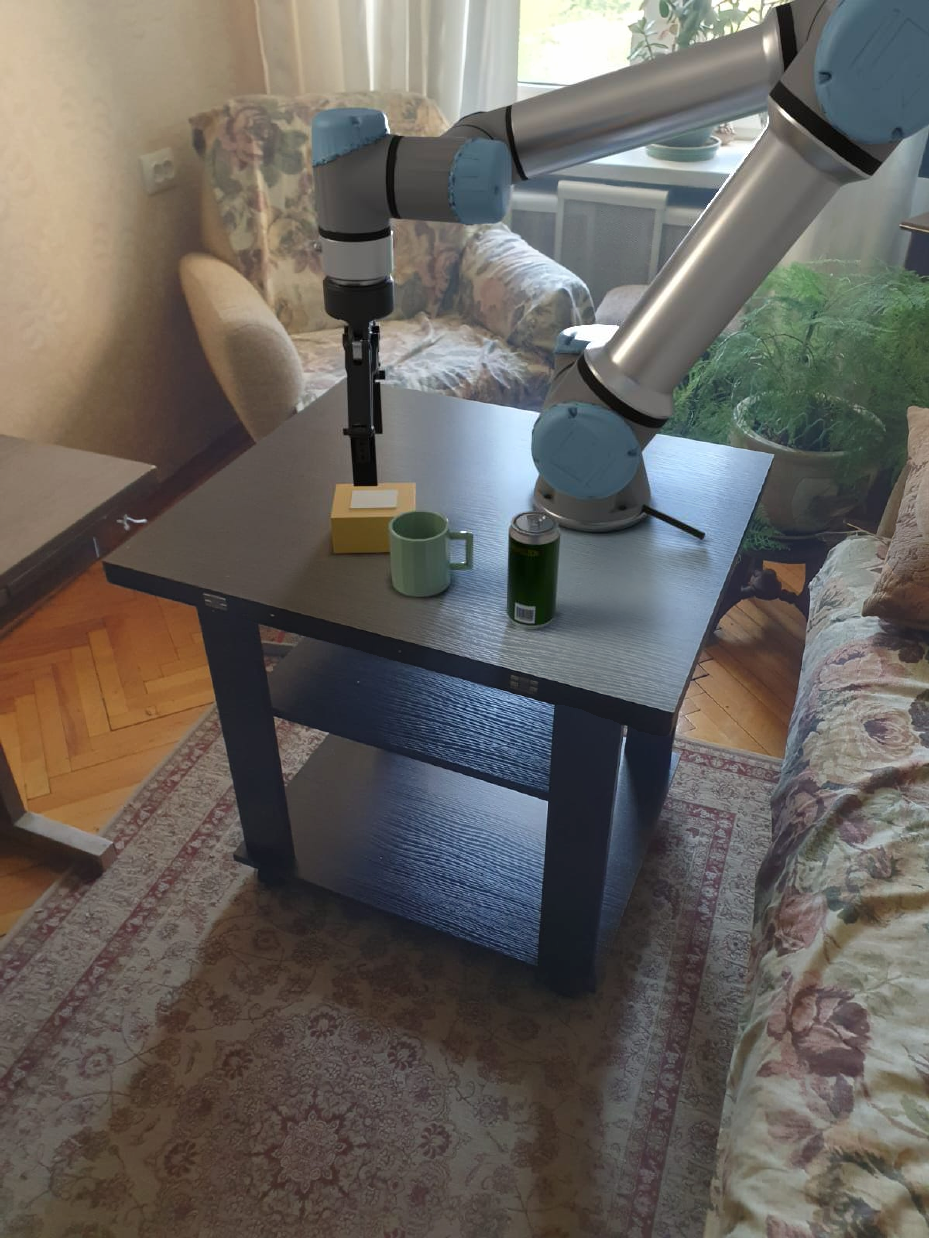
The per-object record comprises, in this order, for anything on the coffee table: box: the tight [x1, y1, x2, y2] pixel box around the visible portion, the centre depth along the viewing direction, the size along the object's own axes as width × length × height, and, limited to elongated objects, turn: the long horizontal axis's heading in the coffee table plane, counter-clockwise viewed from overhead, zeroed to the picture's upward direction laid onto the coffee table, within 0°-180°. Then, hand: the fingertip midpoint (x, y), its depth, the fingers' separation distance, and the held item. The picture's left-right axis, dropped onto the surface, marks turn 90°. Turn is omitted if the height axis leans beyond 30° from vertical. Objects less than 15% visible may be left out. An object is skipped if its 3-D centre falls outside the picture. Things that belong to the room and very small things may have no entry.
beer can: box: [506, 510, 561, 630], centre depth 100 cm, size 5×5×12 cm
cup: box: [389, 509, 474, 598], centre depth 107 cm, size 10×7×8 cm
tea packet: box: [330, 482, 418, 554], centre depth 116 cm, size 10×8×5 cm
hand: (369, 458), depth 111 cm, fingers open, 13 cm apart
